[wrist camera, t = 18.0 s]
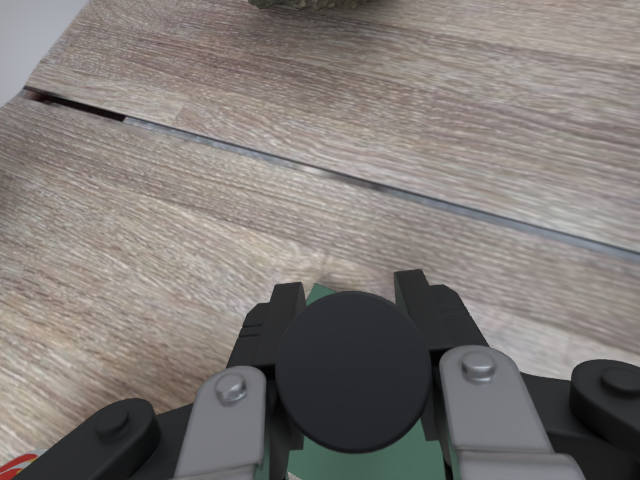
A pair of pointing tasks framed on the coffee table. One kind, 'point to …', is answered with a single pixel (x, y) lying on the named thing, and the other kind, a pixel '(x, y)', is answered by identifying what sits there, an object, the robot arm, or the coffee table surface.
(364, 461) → the felt pad
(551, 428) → the robot arm
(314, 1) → the mineral specimen
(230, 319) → the coffee table surface
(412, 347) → the cylinder
